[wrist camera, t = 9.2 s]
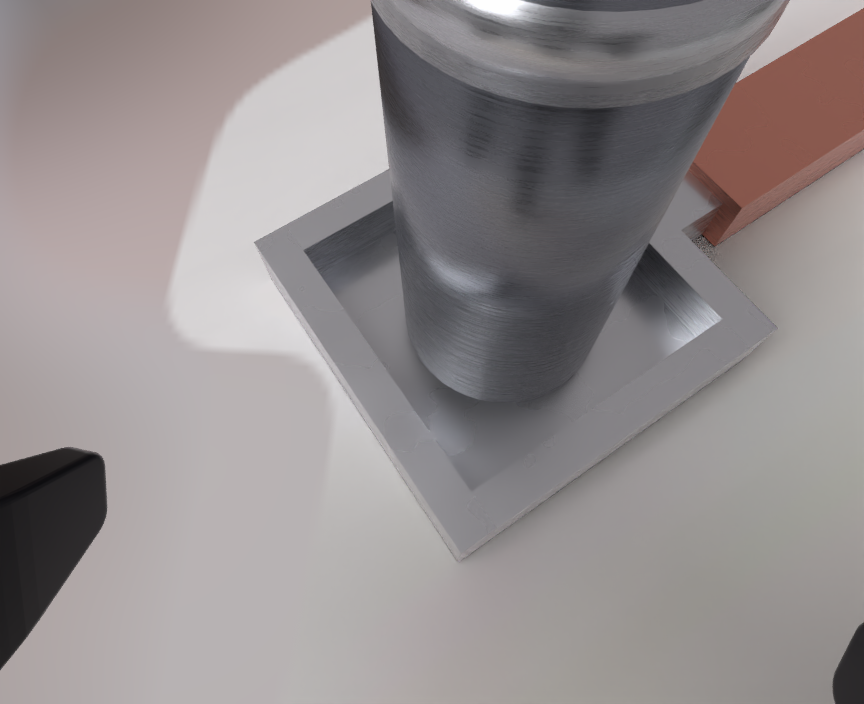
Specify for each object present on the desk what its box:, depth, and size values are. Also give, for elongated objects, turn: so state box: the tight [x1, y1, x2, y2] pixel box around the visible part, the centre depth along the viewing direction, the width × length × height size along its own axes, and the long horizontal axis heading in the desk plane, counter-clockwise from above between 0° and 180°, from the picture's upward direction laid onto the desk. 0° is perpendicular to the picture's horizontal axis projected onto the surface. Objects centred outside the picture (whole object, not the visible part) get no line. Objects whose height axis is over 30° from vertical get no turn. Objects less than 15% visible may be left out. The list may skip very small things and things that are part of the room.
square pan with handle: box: [254, 8, 864, 562], centre depth 20 cm, size 27×10×2 cm, turn 124°
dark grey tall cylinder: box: [371, 0, 790, 402], centre depth 13 cm, size 6×6×13 cm
